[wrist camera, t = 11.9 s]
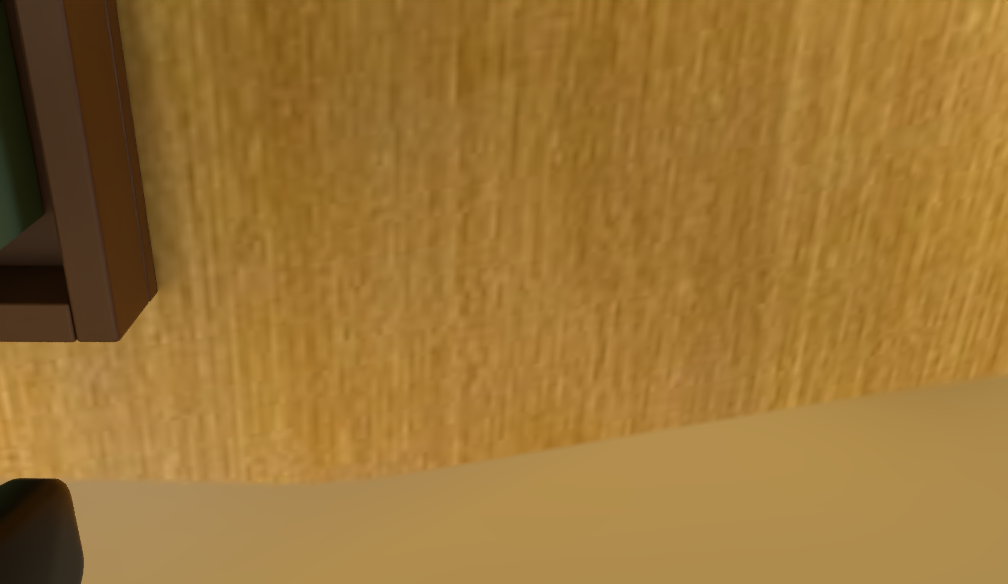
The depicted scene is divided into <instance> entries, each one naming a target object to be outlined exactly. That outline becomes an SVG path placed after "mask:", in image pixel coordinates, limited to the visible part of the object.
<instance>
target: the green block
mask: <svg viewBox="0 0 1008 584" xmlns="http://www.w3.org/2000/svg"><path fill="white" fill-rule="evenodd" d="M43 215H44V210H43V204H42V199H41V194H40V189H39V183H38V178H37V173H36V168H35V163H34V157H33V152H32V147H31V142H30V136H29V131H28V126H27V121H26V116H25V110H24V105H23V100H22V95H21V90H20V84H19V79H18V74H17V69H16V63H15V58H14V53H13V48H12V43H11V37H10V32H9V27H8V22H7V16H6V11H5V6H4V1H3V0H0V250H1V249H2V248H3V247H5V246H6V245H7V244H8V243H10V242H11V241H12V240H13V239H15V238H16V237H17V236H18V235H20V234H21V233H22V232H23V231H25V230H26V229H27V228H28V227H30V226H31V225H32V224H33V223H35V222H36V221H37V220H38V219H40V218H41V217H42V216H43Z"/></svg>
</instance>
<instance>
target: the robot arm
mask: <svg viewBox="0 0 1008 584" xmlns="http://www.w3.org/2000/svg"><path fill="white" fill-rule="evenodd" d="M83 568H84V557H83V551H82V546H81V541H80V536H79V531H78V526H77V522H76V517H75V512H74V507H73V502H72V497H71V494H70V491H69V489H68V487H67V485H66V484H65V483H64V482H62V481H61V480H59V479H37V478H18V479H13V480H10V481H8V482H6V483H4V484H2V485H0V584H81V581H82V576H83Z"/></svg>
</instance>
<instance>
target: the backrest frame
mask: <svg viewBox="0 0 1008 584" xmlns="http://www.w3.org/2000/svg"><path fill="white" fill-rule="evenodd" d="M3 1H4V6H5V11H6V16H7V22H8V27H9V32H10V37H11V43H12V48H13V53H14V58H15V63H16V69H17V74H18V79H19V84H20V90H21V95H22V100H23V105H24V110H25V116H26V121H27V126H28V131H29V136H30V142H31V147H32V152H33V157H34V163H35V168H36V173H37V178H38V183H39V189H40V194H41V199H42V204H43V210H44V215H43V216H42V217H41V218H40V219H38V220H37V221H36V222H35V223H33V224H32V225H31V226H30V227H28V228H27V229H26V230H25V231H23V232H22V233H21V234H20V235H18V236H17V237H16V238H15V239H13V240H12V241H11V242H10V243H8V244H7V245H6V246H5V247H3V248H2V249H1V250H0V342H75V341H76V340H78V341H80V342H117V341H120V339H121V338H122V337H123V335H124V334H125V333H126V332H127V330H128V329H129V328H130V326H131V325H132V324H133V322H134V321H135V320H136V318H137V317H138V316H139V315H140V313H141V312H142V311H143V309H144V308H145V307H146V305H147V304H148V302H149V301H151V300H152V298H153V297H154V296H155V295H156V293H157V285H156V279H155V272H154V265H153V258H152V251H151V244H150V237H149V230H148V223H147V216H146V209H145V203H144V196H143V189H142V182H141V175H140V168H139V161H138V154H137V147H136V140H135V134H134V127H133V120H132V113H131V106H130V99H129V92H128V85H127V78H126V71H125V64H124V58H123V51H122V44H121V37H120V30H119V23H118V16H117V9H116V2H115V0H3Z"/></svg>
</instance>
